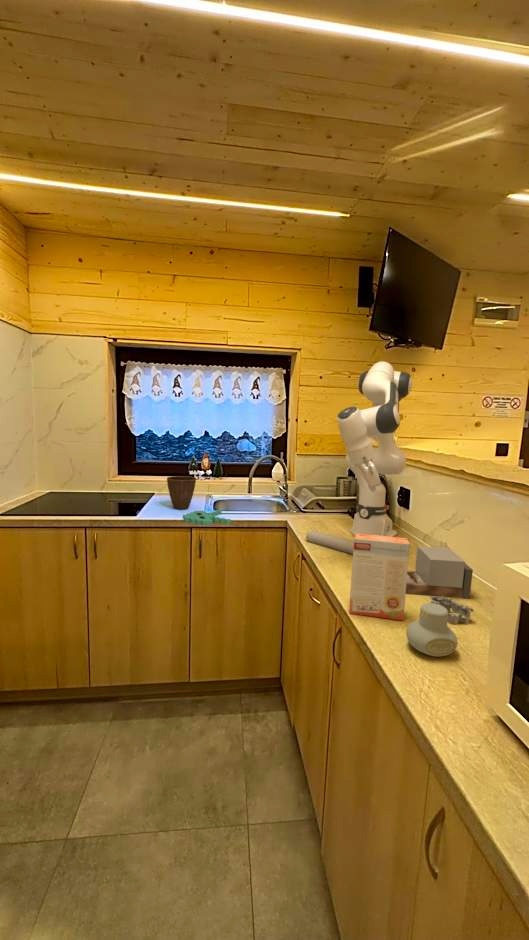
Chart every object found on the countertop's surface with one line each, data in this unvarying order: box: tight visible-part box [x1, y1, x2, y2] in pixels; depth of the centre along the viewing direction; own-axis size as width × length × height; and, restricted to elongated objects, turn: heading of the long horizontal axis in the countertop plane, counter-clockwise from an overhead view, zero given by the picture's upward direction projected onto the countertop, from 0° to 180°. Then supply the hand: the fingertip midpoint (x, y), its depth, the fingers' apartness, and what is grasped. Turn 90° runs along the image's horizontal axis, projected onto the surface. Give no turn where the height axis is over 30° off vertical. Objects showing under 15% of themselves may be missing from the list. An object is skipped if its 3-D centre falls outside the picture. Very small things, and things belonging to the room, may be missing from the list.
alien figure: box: [182, 509, 232, 526], centre depth 204 cm, size 20×2×20 cm
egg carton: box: [428, 595, 474, 625], centre depth 116 cm, size 11×8×4 cm
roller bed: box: [405, 562, 474, 600], centre depth 133 cm, size 22×13×9 cm, turn 87°
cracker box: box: [348, 533, 411, 621], centre depth 113 cm, size 14×6×21 cm, turn 77°
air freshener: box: [405, 602, 458, 658], centre depth 97 cm, size 11×8×10 cm
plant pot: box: [166, 475, 197, 511], centre depth 222 cm, size 15×15×16 cm
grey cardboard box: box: [414, 545, 466, 588], centre depth 133 cm, size 10×13×8 cm
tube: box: [305, 529, 354, 556], centre depth 169 cm, size 5×5×25 cm
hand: (372, 490), depth 149 cm, fingers closed
